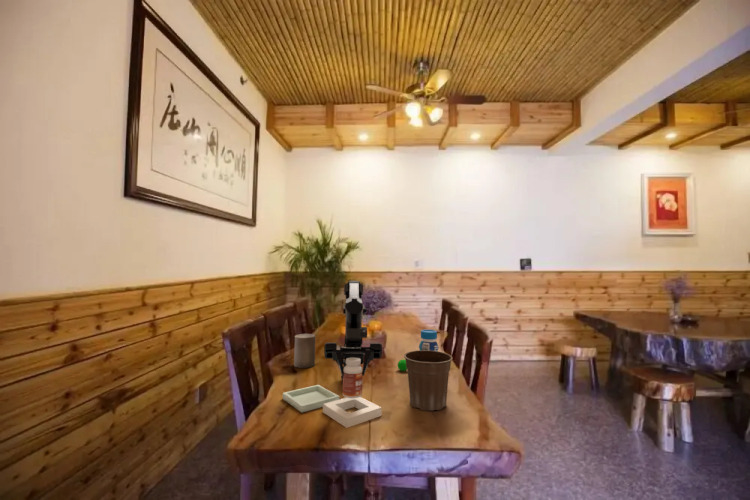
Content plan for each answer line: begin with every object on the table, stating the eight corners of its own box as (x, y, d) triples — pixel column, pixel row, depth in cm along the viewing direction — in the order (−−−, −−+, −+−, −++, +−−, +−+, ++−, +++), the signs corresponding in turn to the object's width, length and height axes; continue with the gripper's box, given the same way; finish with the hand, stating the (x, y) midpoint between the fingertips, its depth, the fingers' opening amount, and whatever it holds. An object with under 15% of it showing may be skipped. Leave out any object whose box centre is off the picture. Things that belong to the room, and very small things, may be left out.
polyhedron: (396, 369, 151) (397, 358, 152) (407, 369, 152) (407, 358, 152) (398, 372, 146) (398, 361, 147) (409, 372, 147) (409, 361, 147)
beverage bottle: (414, 377, 140) (415, 329, 141) (432, 375, 143) (432, 328, 144) (424, 383, 132) (425, 333, 133) (442, 381, 135) (443, 332, 136)
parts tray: (318, 390, 122) (318, 384, 122) (339, 402, 112) (339, 396, 112) (282, 398, 113) (282, 392, 114) (301, 412, 103) (301, 406, 103)
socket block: (356, 402, 112) (356, 394, 112) (381, 415, 102) (381, 407, 102) (322, 412, 103) (323, 403, 104) (346, 427, 93) (346, 418, 94)
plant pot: (414, 416, 102) (414, 363, 103) (396, 397, 117) (397, 351, 118) (461, 411, 106) (461, 360, 107) (438, 393, 122) (438, 349, 123)
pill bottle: (358, 400, 99) (359, 362, 100) (339, 397, 101) (340, 360, 102) (364, 393, 105) (365, 357, 106) (347, 390, 107) (347, 355, 108)
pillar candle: (319, 364, 155) (320, 332, 156) (304, 369, 147) (305, 335, 148) (304, 361, 160) (305, 330, 162) (289, 366, 152) (290, 333, 153)
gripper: (325, 317, 108) (321, 361, 96) (382, 318, 109) (385, 361, 97) (326, 336, 115) (322, 379, 104) (379, 337, 116) (382, 379, 105)
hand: (352, 375), depth 102 cm, fingers closed on pill bottle, 6 cm apart
